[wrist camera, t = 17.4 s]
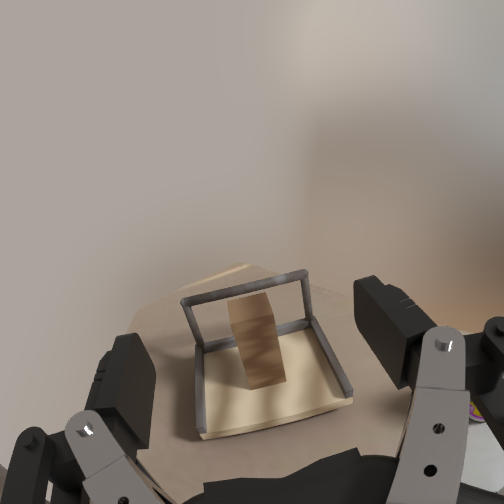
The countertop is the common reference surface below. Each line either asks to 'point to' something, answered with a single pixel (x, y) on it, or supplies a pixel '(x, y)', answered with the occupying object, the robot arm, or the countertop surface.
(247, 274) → the countertop surface
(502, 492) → the small box
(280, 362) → the walnut block
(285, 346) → the cart
